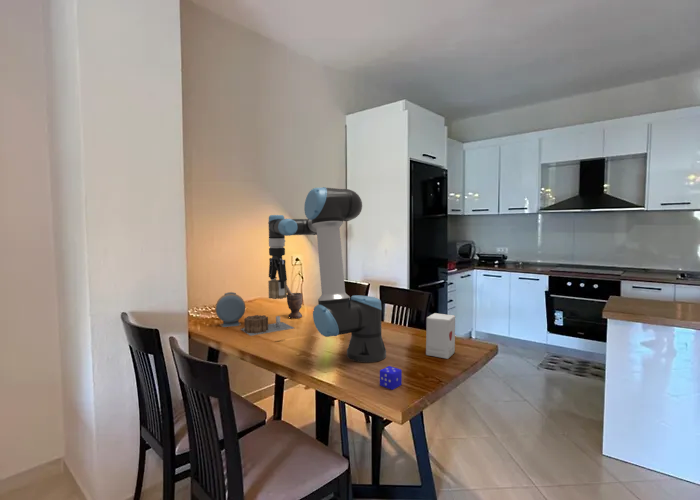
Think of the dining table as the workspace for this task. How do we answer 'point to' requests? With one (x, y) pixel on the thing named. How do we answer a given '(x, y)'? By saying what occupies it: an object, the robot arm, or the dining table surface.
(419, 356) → the dining table surface
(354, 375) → the dining table surface
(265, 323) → the walnut gear
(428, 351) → the supplement box
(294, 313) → the mortar and pestle
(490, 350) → the dining table surface
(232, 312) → the alarm clock
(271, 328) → the gear board
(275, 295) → the maple gear
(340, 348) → the dining table surface
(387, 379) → the die
